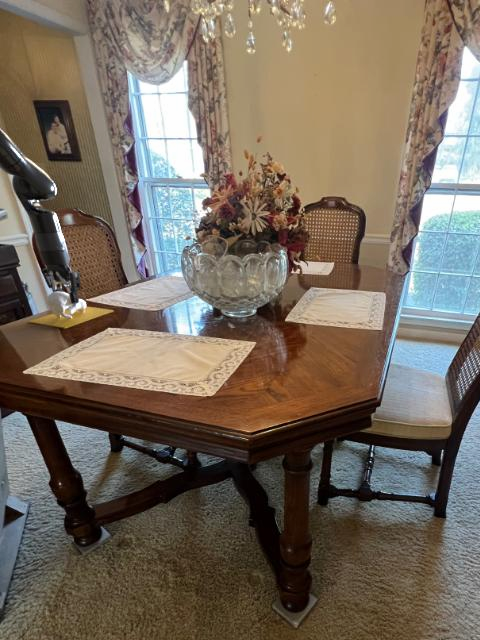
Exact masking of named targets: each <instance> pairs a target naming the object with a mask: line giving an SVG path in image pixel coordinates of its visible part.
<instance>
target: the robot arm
mask: <svg viewBox="0 0 480 640" xmlns="http://www.w3.org/2000/svg"><path fill="white" fill-rule="evenodd" d="M0 169H1V170H2V171H3V172H5V173H6V174H7V175H11V176H12V180H11V184H12V189H13V191H14V193H15V195H16V197H17V199H18V201H19V202H20V204H21V205H22V208H23V209H24V211H25V213H26V215H28V218H29V219H30V220H29V221H30V223H31V226H32V230H33V233H34V238H35V242H36V246H37V249H38V251H39V255H40V258H41V261H42V264H43V265H44V266H46V268H41V269H40V272H41V274H42V276H43V278H44V281H45V283H46V286H47V287H48V289H52V291H53V292H57V291H59V292H64V291H63V286H64V287H65V288H66V290H67V291H68V294H69V296H70V299H71V303H72V304H77V303H79V299H80V298H79V295H78V291H80V290H82V286H81V278H80V272H79V271H78V270H72V269H71V267H70V264H71V259H70V255H69V252H68V247H67V244H66V240H65V237H64V235H63V233H62V229H61V226H60V223H59V219H58V216H57V213H56V212H55V211H53V210H51V209H48V208H45V207H43V206H42V204H41V202H40V201H44V202H45V201H52V200H53V199H55V198H56V196H57V187H56V184H55V182H54V181H53V178H52V177H51V176H50V175H49V174H48V173H47V172H46V171H45V170H44V169H43V168H41V166H39V165H38V164H37V163H36V162H34V161H33V160H32V159H30V157H27V156H26V155H25V154H24V152H23V151H22V150H21V148H19V146H18V145H17V144H16V142H14V140H13V139H12V138H11V137H10V135H8V133H7V132H6V131H5V130H4V129H3V128H1V127H0Z"/></svg>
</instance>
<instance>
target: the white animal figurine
mask: <svg viewBox="0 0 480 640" xmlns="http://www.w3.org/2000/svg"><path fill="white" fill-rule="evenodd" d="M78 299H79V303H77V304H72V303H71V299H70V296H69V293H68V292H65V291H63V292H59V291H57V292H55V291H53V292H51V293H49V294H48V296H47V301H46V305H47V306H48V307H49V309H50V311H51V313H52V314H53V313H54V315H55V316H57V317H59V318H60V317H61V316H63V317H64V318H66V319H72V316H70V315H68V314H65V310H68V311H70V313H71V314H73V313H74V312H75V311H76V310H78V311H79V312H84V311H85V309H86V306H87V302H86V301H85V300H84V299H83V298H78Z"/></svg>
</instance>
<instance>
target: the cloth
mask: <svg viewBox="0 0 480 640" xmlns="http://www.w3.org/2000/svg"><path fill="white" fill-rule="evenodd" d="M114 312H115V310H113V309H108V308H101V307H93V306H87V305H86V309H85V311H84V312H79V311H78V310H76V311H75V312H74V313H73V314H71V313H70V311H68V310H65V314H68V315H70V316H72V319H66V318H64V317H63V316H61V317H60V318H59V317H57V316H55V315H54V313H53V312H52V313H50V314H47V315H44V316H40V317H37V318H34V319H31V320H27V323H28V324H29V323H30V324H35V325H41V326H47V327H52V328H58V329H69V328H71V327H75V326H76V325H80V324H82V323H86V322H88V321H91V320H95V319H96V318H100V317H102V316H105V315H108V314H110V313H114Z"/></svg>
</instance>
